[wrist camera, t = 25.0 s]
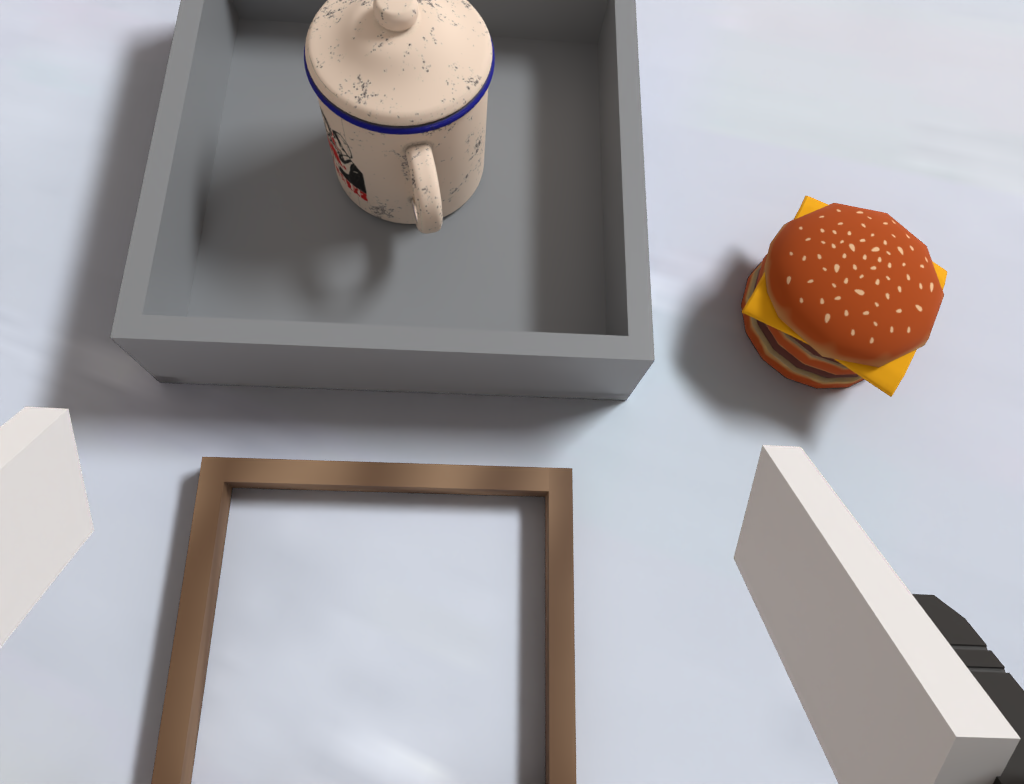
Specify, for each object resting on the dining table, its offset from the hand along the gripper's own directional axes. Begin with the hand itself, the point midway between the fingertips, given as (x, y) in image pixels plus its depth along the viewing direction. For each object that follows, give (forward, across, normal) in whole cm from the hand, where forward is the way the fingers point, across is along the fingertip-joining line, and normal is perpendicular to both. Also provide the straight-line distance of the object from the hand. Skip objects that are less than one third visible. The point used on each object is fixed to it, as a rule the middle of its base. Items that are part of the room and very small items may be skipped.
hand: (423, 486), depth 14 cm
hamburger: (+28, -21, +6) cm, 36 cm away
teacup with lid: (+32, +3, 0) cm, 32 cm away
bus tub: (+33, +3, +1) cm, 33 cm away
